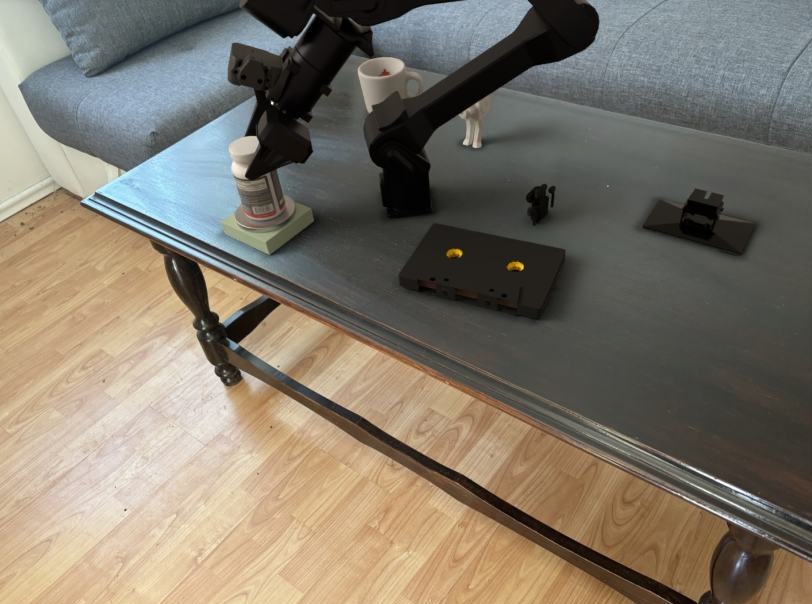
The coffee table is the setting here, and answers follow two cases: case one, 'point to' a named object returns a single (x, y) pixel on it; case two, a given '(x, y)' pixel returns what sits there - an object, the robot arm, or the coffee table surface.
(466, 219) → the coffee table surface
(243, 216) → the scale
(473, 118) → the toy robot
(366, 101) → the cup
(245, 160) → the pill bottle
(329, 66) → the robot arm
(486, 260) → the cassette tape
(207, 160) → the coffee table surface
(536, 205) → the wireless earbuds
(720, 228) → the build plate
